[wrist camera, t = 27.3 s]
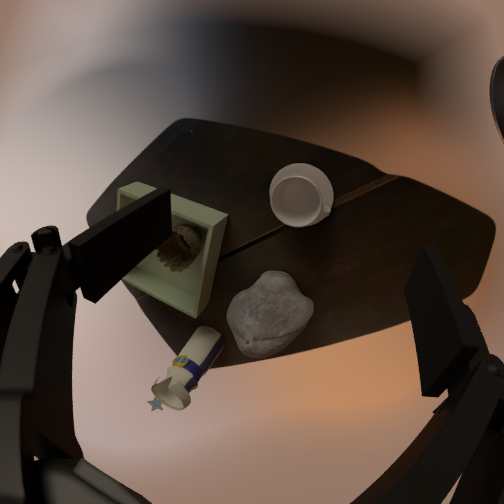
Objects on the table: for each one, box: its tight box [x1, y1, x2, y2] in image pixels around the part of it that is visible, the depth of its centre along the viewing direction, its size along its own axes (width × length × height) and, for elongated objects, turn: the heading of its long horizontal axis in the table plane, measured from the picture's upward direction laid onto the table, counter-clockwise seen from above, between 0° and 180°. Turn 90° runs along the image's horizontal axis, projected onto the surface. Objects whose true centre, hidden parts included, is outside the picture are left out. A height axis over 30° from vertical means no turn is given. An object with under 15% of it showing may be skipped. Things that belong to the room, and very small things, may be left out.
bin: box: [117, 182, 228, 318], centre depth 53 cm, size 21×21×6 cm
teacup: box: [270, 163, 333, 227], centre depth 41 cm, size 10×10×5 cm
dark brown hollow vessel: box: [155, 224, 202, 273], centre depth 48 cm, size 8×7×8 cm
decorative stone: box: [227, 271, 314, 359], centre depth 45 cm, size 15×10×15 cm
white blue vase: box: [148, 326, 225, 411], centre depth 53 cm, size 8×9×25 cm
